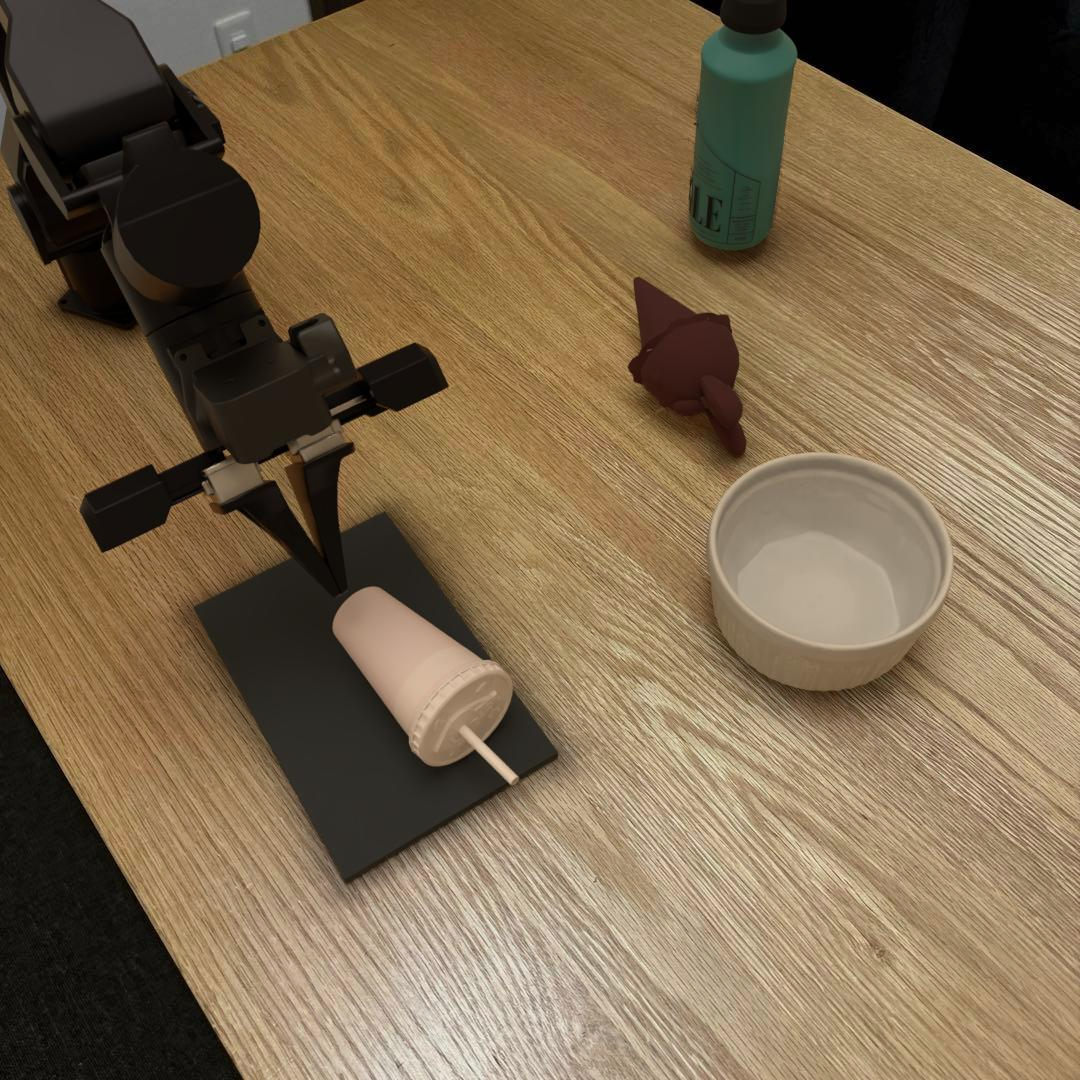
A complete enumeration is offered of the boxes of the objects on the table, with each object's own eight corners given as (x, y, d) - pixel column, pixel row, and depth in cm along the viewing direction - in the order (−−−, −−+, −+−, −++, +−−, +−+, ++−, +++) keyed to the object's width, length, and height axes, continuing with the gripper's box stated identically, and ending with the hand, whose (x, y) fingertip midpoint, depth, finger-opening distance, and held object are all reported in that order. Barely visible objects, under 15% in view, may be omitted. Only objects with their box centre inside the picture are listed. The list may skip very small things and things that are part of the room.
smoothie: (295, 623, 64) (460, 794, 56) (386, 546, 65) (557, 703, 58) (335, 677, 69) (490, 839, 62) (418, 604, 71) (579, 754, 63)
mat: (195, 611, 71) (192, 606, 71) (386, 516, 75) (385, 510, 75) (346, 884, 61) (344, 880, 61) (558, 757, 65) (558, 752, 64)
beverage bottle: (786, 229, 90) (828, -28, 74) (746, 280, 87) (782, 23, 71) (709, 202, 93) (734, -54, 76) (668, 251, 89) (685, -5, 73)
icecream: (577, 271, 79) (677, 439, 72) (677, 220, 79) (787, 384, 71) (597, 331, 85) (691, 492, 78) (690, 285, 85) (793, 441, 78)
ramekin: (927, 729, 65) (959, 665, 60) (687, 696, 67) (696, 630, 61) (924, 537, 73) (952, 463, 67) (708, 511, 75) (718, 438, 69)
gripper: (5, 380, 48) (185, 711, 52) (406, 210, 54) (547, 518, 57) (19, 398, 59) (168, 672, 62) (354, 254, 64) (476, 512, 67)
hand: (340, 594), depth 62 cm, fingers closed
